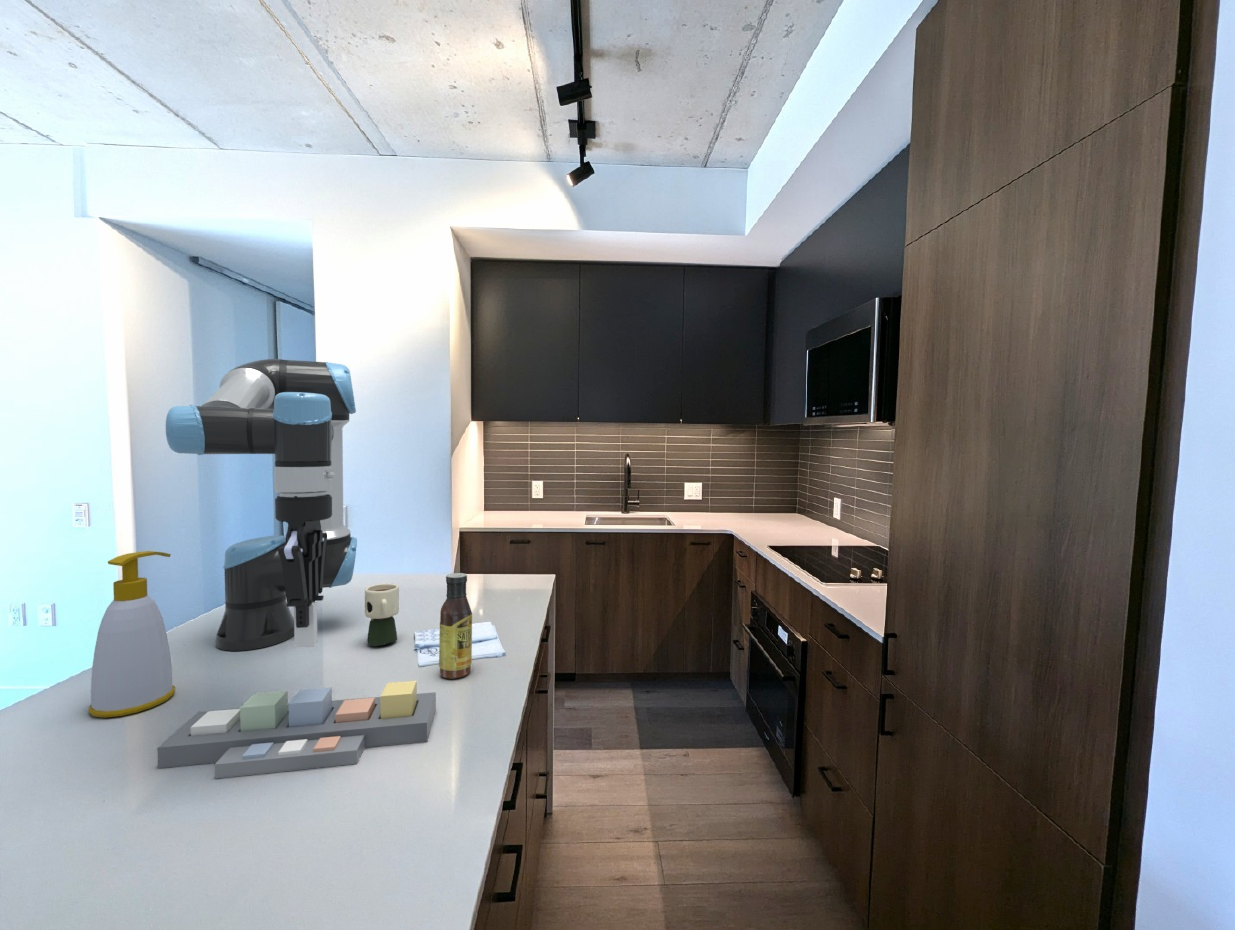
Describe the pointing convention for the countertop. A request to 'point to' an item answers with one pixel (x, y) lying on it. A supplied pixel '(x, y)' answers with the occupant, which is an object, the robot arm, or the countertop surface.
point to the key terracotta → (355, 710)
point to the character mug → (381, 613)
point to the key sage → (264, 711)
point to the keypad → (295, 742)
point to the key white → (216, 722)
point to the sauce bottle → (455, 629)
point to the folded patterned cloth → (482, 644)
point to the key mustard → (399, 699)
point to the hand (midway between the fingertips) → (306, 645)
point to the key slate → (310, 707)
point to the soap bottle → (130, 648)
